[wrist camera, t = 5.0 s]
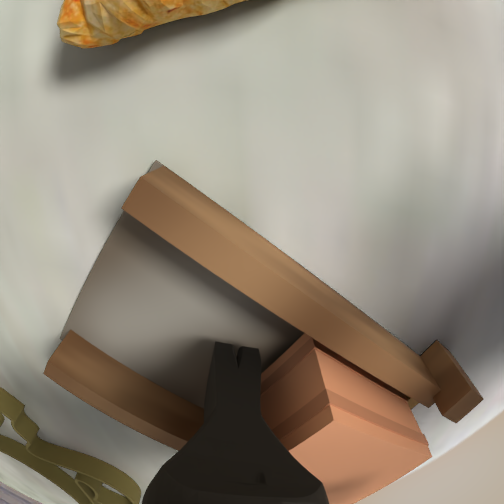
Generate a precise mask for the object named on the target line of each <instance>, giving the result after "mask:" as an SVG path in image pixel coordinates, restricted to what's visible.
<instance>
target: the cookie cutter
mask: <svg viewBox="0 0 504 504" xmlns="http://www.w3.org/2000/svg"><path fill="white" fill-rule="evenodd" d="M24 407H25V405H24V404H23V403H21V402H20V401H19V400H17V399H16V398H15V397H13V396H12V395H11V394H9V393H8V392H7V391H5V390H4V389H2V388H1V387H0V426H1V425H2V423H3V422H4V416H3V415H5V416H6V417H7V418H9V419H10V420H11V425H12V427H13V429H14V430H15V431H16V432H17V433H18V434H19V435H20V436H21V437H22V438H23V439H25V440H26V441H27V444H26V446H24V445H23V444H21V443H19V442H17V441H15V440H13V439H10V438H8V437H6V436H3V435H0V451H1V452H3V453H5V454H7V455H9V456H11V457H13V458H15V459H16V460H18V461H20V462H22V463H23V464H25V465H27V466H28V467H30V468H32V469H33V470H35V471H36V472H38V473H40V474H41V475H43V476H44V477H46V478H47V479H49V480H50V481H51V482H53V483H54V484H56V485H57V486H58V487H60V488H61V489H62V490H64V491H65V492H66V493H68V494H69V495H70V496H71V497H72V498H74V499H75V500H76V501H77V502H78V503H79V504H139V501H140V497H141V490H140V488H139V486H138V485H137V483H136V482H135V481H134V480H133V479H132V478H130V477H129V476H128V475H127V474H125V473H124V472H122V471H121V470H119V469H117V468H116V467H114V466H112V465H110V464H108V463H106V462H104V461H102V460H99V459H97V458H94V457H92V456H89V455H86V454H83V453H80V452H77V451H74V450H70V449H67V448H64V447H60V446H57V445H54V444H51V443H48V442H46V441H44V440H42V439H40V438H39V437H38V436H37V432H38V430H39V427H38V426H37V425H36V424H35V423H34V422H33V421H32V420H31V419H30V418H28V417H27V415H26V414H25V412H24ZM2 414H3V415H2ZM56 465H58V466H61V467H64V468H67V469H70V470H73V471H76V472H77V474H76V477H75V480H74V479H73V478H72V477H71V476H69V475H68V474H67V473H66V472H64V471H63V470H62V469H60V468H59V467H58V466H56ZM102 482H103V483H105V484H107V485H109V486H110V487H112V488H114V489H116V490H117V491H119V492H120V493H122V494H123V495H124V496H126V497H124V496H122V495H119V494H117V493H115V492H113V491H111V490H109V489H107V488H105V487H103V486H102Z"/></svg>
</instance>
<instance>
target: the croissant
mask: <svg viewBox="0 0 504 504" xmlns="http://www.w3.org/2000/svg"><path fill="white" fill-rule="evenodd" d="M242 1H247V0H64V2H63V4H62V7H61V10H60V14H59V17H58V21H57V25H58V27H59V28H60V38H61V40H62V42H64V43H67V44H71V45H74V46H77V47H81V49H83V48H94V47H100V46H106V45H111V44H114V43H117V42H118V41H119V40H120V39H122V38H126V37H132V36H136V35H139V34H141V33H142V32H143V31H144V30H146V29H148V28H151V27H154V26H157V25H161V24H164V23H167V22H171V21H174V20H178V19H182V18H187V17H193V16H199V15H205V14H209V13H212V12H215V11H218V10H221V9H224V8H226V7H228V6H231V5H233V4H236V3H239V2H242Z"/></svg>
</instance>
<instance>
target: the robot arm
mask: <svg viewBox="0 0 504 504" xmlns="http://www.w3.org/2000/svg"><path fill="white" fill-rule="evenodd" d="M260 390H261V357H260V352H259V349H258V348H252V347H245V346H242V347H240V348H239V349H238V353H237V357H236V355H235V350H234V346H233V345H232V344H228V343H223V342H217V341H215V345H214V350H213V355H212V360H211V365H210V370H209V375H208V380H207V387H206V393H205V400H204V424H203V425H202V426H201V427H200V429H199V430H198V431H197V432H196V433H195V435H194V436H193V437H192V438H191V439H190V440H189V441H188V442H187V443H186V444H185V445H184V446H183V447H182V448H181V449H180V450H179V451H178V452H177V453H176V454H175V455H174V456H173V457H172V458H170V459H169V460H168V461H167V462H166V463H165V464H164V465H162V467H161V468H160V470H159V471H158V473H157V474H156V475H155V477H154V478H153V480H152V481H151V483H150V484H149V486H148V488H147V490H146V492H145V494H144V497H143V501H142V504H329V500H328V497H327V494H326V491H325V488H324V486H323V483H322V482H321V481H320V480H319V479H317V478H316V477H315V476H314V475H313V474H311V473H310V472H309V471H308V470H307V469H306V468H304V467H303V466H302V465H301V464H300V463H299V462H298V461H297V460H296V459H295V458H294V457H293V456H292V455H291V454H290V452H289V451H288V450H287V449H286V448H285V446H284V445H283V444H282V443H281V442H280V441H279V439H278V438H277V437H276V436H275V434H274V433H273V432H272V430H271V429H270V427H269V426H268V425H267V423H266V421H265V420H264V418H263V417H262V415H261V408H260ZM0 504H42V503H40V502H38V501H36V500H34V499H32V498H30V497H28V496H26V495H24V494H22V493H20V492H18V491H16V490H14V489H13V488H11V487H9V486H7V485H5V484H4V483H2V482H0Z"/></svg>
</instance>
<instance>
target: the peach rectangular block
mask: <svg viewBox="0 0 504 504" xmlns="http://www.w3.org/2000/svg"><path fill="white" fill-rule="evenodd" d="M260 408H261V415H262V417H263V418H264V420H265V421H266V423H267V425H268V426H269V427H270V429H271V430H272V432H273V433H274V434H275V436H276V437H277V438H278V439H279V441H280V442H281V443H282V444H283V445H284V446H285V448H286V449H287V450H288V451H289V452H290V454H291V455H292V456H293V457H294V458H295V459H296V460H297V461H298V462H299V463H300V464H301V465H302V466H303V467H304V468H306V469H307V470H308V471H309V472H310V473H311V474H313V475H314V476H315V477H316V478H317V479H319V480H320V481H321V482H322V483H323V486H324V488H325V491H326V494H327V497H328V500H329V504H354V503H356V502H357V501H360V500H361V499H363V498H365V497H367V496H369V495H371V494H373V493H375V492H377V491H378V490H380V489H382V488H384V487H385V486H387V485H389V484H391V483H392V482H394V481H396V480H397V479H399V478H401V477H402V476H404V475H405V474H407V473H409V472H410V471H412V470H413V469H415V468H416V467H418V466H419V465H421V464H422V463H424V462H425V461H427V460H428V459H429V458H431V457H432V455H431V453H430V450H429V448H428V445H429V444H428V442H427V440H426V438H425V435H424V434H422V433H421V430H420V428H419V426H418V424H417V422H416V420H415V418H414V415H413V413H412V411H411V409H410V407H409V405H408V400H407V398H406V396H405V394H404V393H402V392H400V391H398V390H397V389H395V388H393V387H392V386H390V385H388V384H387V383H385V382H383V381H382V380H380V379H378V378H377V377H375V376H373V375H372V374H370V373H368V372H367V371H365V370H363V369H362V368H360V367H358V366H357V365H355V364H354V363H352V362H350V361H349V360H347V359H345V358H344V357H342V356H340V355H339V354H337V353H336V352H334V351H332V350H331V349H329V348H328V347H326V346H324V345H323V344H321V343H320V342H318V341H316V340H315V339H313V338H312V337H310V336H309V335H307V334H305V333H304V334H303V335H302V336H301V337H300V338H299V339H298V340H297V341H296V342H295V343H294V344H293V345H292V346H291V347H290V348H289V349H288V350H287V351H286V352H284V353H283V354H282V355H281V356H280V357H279V358H278V359H277V360H276V361H275V362H274V363H273V364H272V365H270V366H269V367H268V368H267V369H266V370H265V371H264V372H263V373H262V374H261V390H260Z"/></svg>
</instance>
